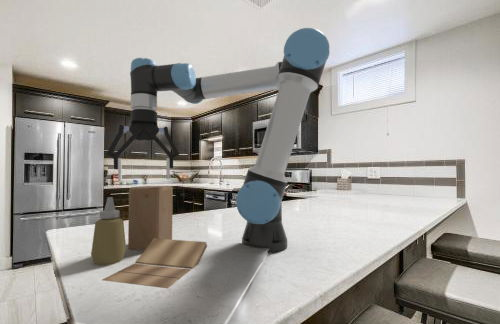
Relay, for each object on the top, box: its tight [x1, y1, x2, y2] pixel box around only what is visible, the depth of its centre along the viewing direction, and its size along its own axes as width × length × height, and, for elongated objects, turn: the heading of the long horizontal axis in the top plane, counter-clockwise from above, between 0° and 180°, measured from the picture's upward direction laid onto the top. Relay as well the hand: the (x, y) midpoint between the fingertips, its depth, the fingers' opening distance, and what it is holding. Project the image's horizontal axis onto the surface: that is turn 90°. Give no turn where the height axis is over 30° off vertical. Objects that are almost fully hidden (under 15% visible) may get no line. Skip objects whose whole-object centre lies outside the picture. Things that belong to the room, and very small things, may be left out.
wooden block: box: [127, 185, 174, 251], centre depth 82 cm, size 10×10×20 cm
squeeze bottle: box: [90, 196, 127, 266], centre depth 68 cm, size 8×8×18 cm
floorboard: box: [102, 263, 192, 289], centre depth 58 cm, size 16×10×2 cm, turn 76°
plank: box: [134, 238, 208, 270], centre depth 68 cm, size 16×9×2 cm, turn 76°
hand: (144, 180), depth 78 cm, fingers open, 13 cm apart
